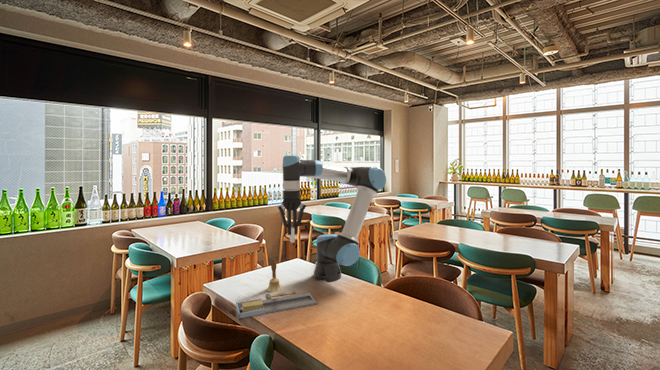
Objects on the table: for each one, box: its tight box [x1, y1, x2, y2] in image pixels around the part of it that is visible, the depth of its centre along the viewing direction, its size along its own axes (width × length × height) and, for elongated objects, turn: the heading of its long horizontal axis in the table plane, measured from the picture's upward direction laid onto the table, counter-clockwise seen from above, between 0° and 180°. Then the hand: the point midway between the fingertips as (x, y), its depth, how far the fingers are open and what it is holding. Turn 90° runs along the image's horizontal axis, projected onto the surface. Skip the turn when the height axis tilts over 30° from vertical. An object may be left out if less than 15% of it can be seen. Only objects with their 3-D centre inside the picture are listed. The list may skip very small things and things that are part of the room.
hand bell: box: [266, 257, 283, 292], centre depth 151 cm, size 8×8×16 cm
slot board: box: [262, 292, 318, 315], centre depth 135 cm, size 22×11×2 cm, turn 112°
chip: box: [241, 302, 253, 313], centre depth 129 cm, size 4×4×3 cm
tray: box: [235, 298, 266, 322], centre depth 129 cm, size 11×11×3 cm
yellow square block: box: [252, 299, 264, 311], centre depth 130 cm, size 4×4×3 cm
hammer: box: [265, 291, 297, 300], centre depth 144 cm, size 13×5×2 cm, turn 109°
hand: (292, 241), depth 141 cm, fingers closed
